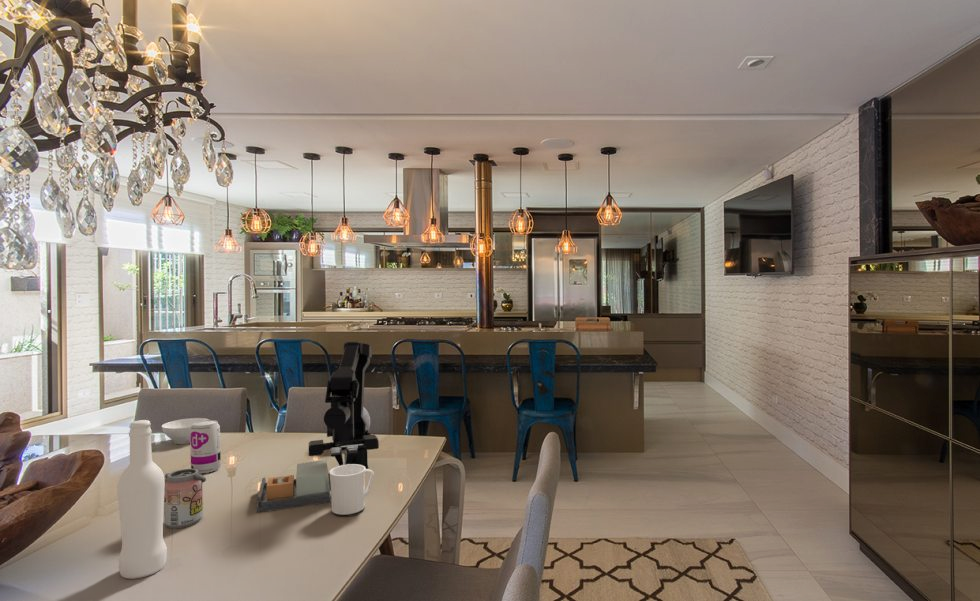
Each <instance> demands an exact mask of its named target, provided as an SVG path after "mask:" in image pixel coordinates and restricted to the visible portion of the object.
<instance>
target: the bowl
mask: <svg viewBox="0 0 980 601" xmlns="http://www.w3.org/2000/svg"><path fill="white" fill-rule="evenodd" d="M207 420H210V418H209V419H208V418H203V417H193V418H191V417H190V418H183V419H182V418H181V419H176V420H172V421H169V422H165V423H162V425H161V430H162V431H163V434H165V435H166V437H167V438H169V439H171V441H173V443H175V444H176V445H188V444H190V429H191V427H192V424H193V423H196V422H200V421H207Z"/></svg>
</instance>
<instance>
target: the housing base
mask: <svg viewBox="0 0 980 601" xmlns="http://www.w3.org/2000/svg"><path fill="white" fill-rule="evenodd" d="M329 479H330V477H328V492H325V493H318V494H310V495H303V496H297V490H296V478H294V496H290V497H282V498H275V499H267V490H266V486H267V480H266V477H262V478H261V483H260V487H259V491H258V494H257V503H256V513H263V511H264V512H269V510H271V511H277V510H276V509H278V510H283V509H285V510H286V509H290V508H291V509H292V508H298V507H306V506H311V505H319V504H327V503H332V502H331V485H330V480H329ZM277 482H278V483H284V482H285V478H278V479H277Z"/></svg>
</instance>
